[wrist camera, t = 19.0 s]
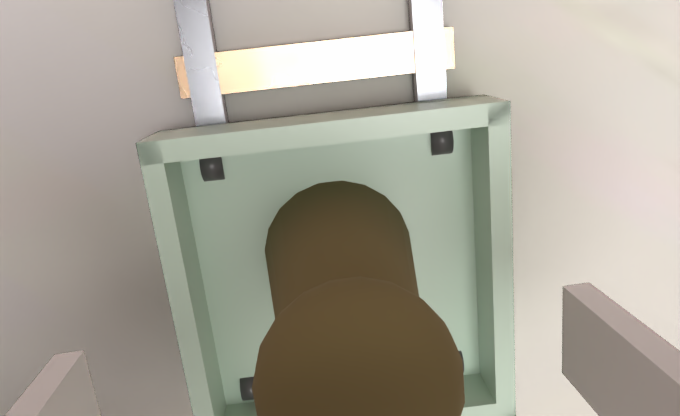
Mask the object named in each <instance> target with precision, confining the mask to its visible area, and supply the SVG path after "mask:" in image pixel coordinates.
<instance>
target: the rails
mask: <svg viewBox="0 0 680 416" xmlns="http://www.w3.org/2000/svg"><path fill="white" fill-rule="evenodd" d="M173 1H174V7H175V12H176V18H177V24H178V29H179V35H180V40H181V46H182V52H183V56H179V57H174V62H175V68H176V73H177V79H178V84H179V90H180V95H181V99H183V98H191V102H192V108H193V113H194V119H195V124H196V127H200V126H209V125H218V124H227V123H228V117H227V110H226V104H225V98H224V94H228V93H237V92H246V91H255V90H264V89H273V88H282V87H291V86H300V85H309V84H318V83H327V82H336V81H346V80H355V79H364V78H373V77H382V76H391V75H400V74H409V73H413V82H414V97H415V102H423V101H432V100H441V99H447V83H446V69H454V68H455V56H454V33H453V27H445V28H444V22H443V1H442V0H408V5H409V21H410V31H409V32H399V33H390V34H381V35H372V36H363V37H353V38H344V39H335V40H326V41H317V42H307V43H298V44H289V45H280V46H271V47H261V48H252V49H243V50H234V51H225V52H217V49H216V42H215V36H214V30H213V24H212V18H211V11H210V5H209V0H173Z"/></svg>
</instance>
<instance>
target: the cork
mask: <svg viewBox="0 0 680 416" xmlns="http://www.w3.org/2000/svg"><path fill="white" fill-rule="evenodd" d="M265 256H266V263H267V269H268V276H269V283H270V289H271V296H272V302H273V309H274V315H275V320H274V322H273V324H272V325H271V327H270V329H269V330H268V332H267V334H266V336H265V337H264V339H263V341H262V342H261V344H260V347H259V352H258V357H257V362H256V368H255V373H254V379H253V384H252V391H253V397H254V402H255V408H256V413H257V416H461V414H462V411H463V407H464V404H465V394H464V376H463V360H462V358H461V356H460V353H459V351H458V349H457V347H456V344H455V342H454V340H453V337H452V335H451V333H450V331H449V329H448V327H447V326H446V324H445V322H444V321H443V320H442V319H441V318H440V317H439V316H438V315H437V314H436V312H435V311H434V310H433V309H432V308H431V307H430V306H429V305H428V304H427V303H426V302H425V301H424V300H423V299H421V298H420V297H419V293H418V286H417V280H416V273H415V267H414V261H413V254H412V248H411V241H410V235H409V231H408V229H407V226H406V224H405V222H404V219H403V217H402V215H401V213H400V211H399V210H398V209H397V208H396V207H395V206H394V205H393V204H392V203H391V202H390V201H389V199H388V198H387V197H386V196H385V195H383V194H381V193H379V192H377V191H375V190H374V189H372V188H370V187H368V186H366V185H364V184H358V183H353V182H348V181H342V180H341V181H332V182H324V183H318V184H315V185H313V186H311V187H309V188H307V189H304V190H302V191H300V192H298V193H296V194H295V195H294V196H293V197H292V198H291V199H290V200H288V201H287V202H286V203H285V204H284V205H283V206H282V207H281V208H280V209H279V210H278V212H277V214H276V216H275V218H274V219H273V221H272V223H271V225H270V227H269V228H268V234H267V239H266V245H265Z"/></svg>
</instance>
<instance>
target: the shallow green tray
mask: <svg viewBox="0 0 680 416" xmlns="http://www.w3.org/2000/svg"><path fill="white" fill-rule="evenodd" d="M136 147H137V152H138V156H139V161H140V166H141V171H142V175H143V180H144V185H145V190H146V194H147V199H148V204H149V208H150V213H151V218H152V223H153V227H154V232H155V237H156V242H157V246H158V251H159V256H160V260H161V265H162V270H163V275H164V279H165V284H166V289H167V294H168V298H169V303H170V308H171V313H172V317H173V322H174V327H175V331H176V336H177V341H178V346H179V350H180V355H181V360H182V365H183V369H184V374H185V379H186V384H187V388H188V393H189V398H190V402H191V407H192V412H193V416H257V413H256V408H255V402H254V397H253V391H252V384H253V379H254V373H255V368H256V362H257V357H258V352H259V347H260V344H261V342H262V341H263V339H264V337H265V336H266V334H267V332H268V330H269V329H270V327H271V325H272V324H273V322H274V320H275V315H274V309H273V302H272V296H271V289H270V283H269V276H268V269H267V263H266V256H265V245H266V239H267V234H268V228H269V227H270V225H271V223H272V221H273V219H274V218H275V216H276V214H277V212H278V210H279V209H280V208H281V207H282V206H283V205H284V204H285V203H286V202H287V201H288V200H290V199H291V198H292V197H293V196H294V195H295V194H296V193H298V192H300V191H302V190H304V189H307V188H309V187H311V186H313V185H315V184H318V183H324V182H332V181H341V180H342V181H348V182H353V183H358V184H364V185H366V186H368V187H370V188H372V189H374V190H375V191H377V192H379V193H381V194H383V195H385V196H386V197H387V198H388V199H389V201H390V202H391V203H392V204H393V205H394V206H395V207H396V208H397V209H398V210H399V211H400V213H401V215H402V217H403V219H404V222H405V224H406V226H407V229H408V231H409V235H410V241H411V248H412V254H413V261H414V267H415V273H416V280H417V286H418V293H419V297H420V298H421V299H423V300H424V301H425V302H426V303H427V304H428V305H429V306H430V307H431V308H432V309H433V310H434V311H435V312H436V314H437V315H438V316H439V317H440V318H441V319H442V320H443V321H444V322H445V324H446V326H447V327H448V329H449V331H450V333H451V335H452V337H453V340H454V342H455V344H456V347H457V349H458V351H459V353H460V356H461V358H462V360H463V376H464V394H465V404H464V407H463V411H462V414H461V416H516V400H515V342H514V283H513V224H512V166H511V107H510V101H509V100H504V99H500V98H496V97H491V96H487V95H476V96H467V97H458V98H449V99H441V100H432V101H423V102H414V103H405V104H396V105H387V106H378V107H369V108H360V109H351V110H342V111H334V112H325V113H316V114H307V115H298V116H289V117H280V118H271V119H262V120H253V121H244V122H236V123H227V124H218V125H209V126H200V127H191V128H182V129H173V130H164V131H158V132H156V133H154V134H152V135H150V136H148V137H146V138H145V139H143V140H141V141H139V142H137V143H136Z"/></svg>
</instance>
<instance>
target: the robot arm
mask: <svg viewBox="0 0 680 416" xmlns="http://www.w3.org/2000/svg"><path fill="white" fill-rule="evenodd" d="M562 373H563V374H564V376H565V377H566V378H567V379H568V380H569V381H570V383H571V384H572V385H573V386H574V387H575V388H576V390H577V391H578V392H579V393H580V394H581V395H582V397H583V398H584V399H585V400H586V401H587V402H588V404H589V405H590V406H591V407H592V408H593V410H594V411H595V412H596V413H597V414H598V415H599V416H680V351H679V350H678V349H677V348H675V347H674V346H673V345H671V344H670V343H669V342H667V341H666V340H665V339H663V338H662V337H661V336H659V335H658V334H657V333H655V332H654V331H653V330H651V329H650V328H649V327H648V326H646V325H645V324H644V323H642V322H641V321H640V320H638V319H637V318H636V317H634V316H633V315H632V314H630V313H629V312H628V311H626V310H625V309H624V308H622V307H621V306H620V305H618V304H617V303H616V302H614V301H613V300H612V299H610V298H609V297H608V296H607V295H605V294H604V293H603V292H601V291H600V290H599V289H597V288H596V287H595V286H593V285H592V284H591V283H582V284H575V285H567V286H563V316H562ZM5 416H101V413H100V410H99V406H98V402H97V398H96V394H95V391H94V387H93V383H92V379H91V375H90V372H89V368H88V364H87V360H86V356H85V353H84V350H82V351H75V352H67V353H60V354H54V356H53V357H52V358H51V359H50V360H49V362H48V363H47V364H46V365H45V367H44V368H43V369H42V370H41V372H40V373H39V374H38V375H37V377H36V378H35V379H34V380H33V381H32V383H31V384H30V385H29V386H28V388H27V389H26V390H25V391H24V393H23V394H22V395H21V396H20V397H19V399H18V400H17V401H16V402H15V404H14V405H13V406H12V407H11V409H10V410H9V411H8V412H7V413H6V415H5Z"/></svg>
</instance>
